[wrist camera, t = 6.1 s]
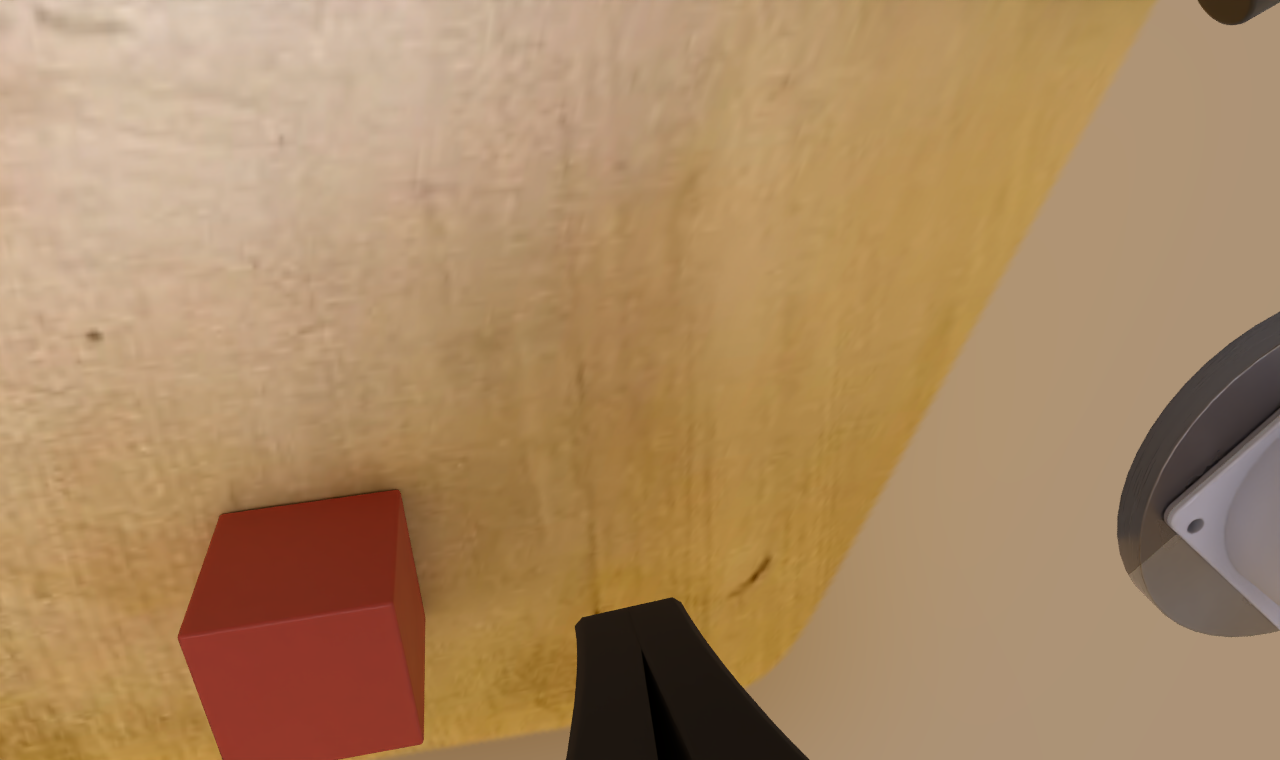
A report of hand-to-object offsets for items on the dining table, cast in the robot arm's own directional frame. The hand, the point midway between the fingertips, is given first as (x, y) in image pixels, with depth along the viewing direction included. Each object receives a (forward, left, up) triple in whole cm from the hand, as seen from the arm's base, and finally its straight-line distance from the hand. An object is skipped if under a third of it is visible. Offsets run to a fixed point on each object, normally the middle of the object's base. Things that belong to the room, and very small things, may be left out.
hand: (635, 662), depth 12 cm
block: (+1, +8, -10) cm, 12 cm away
